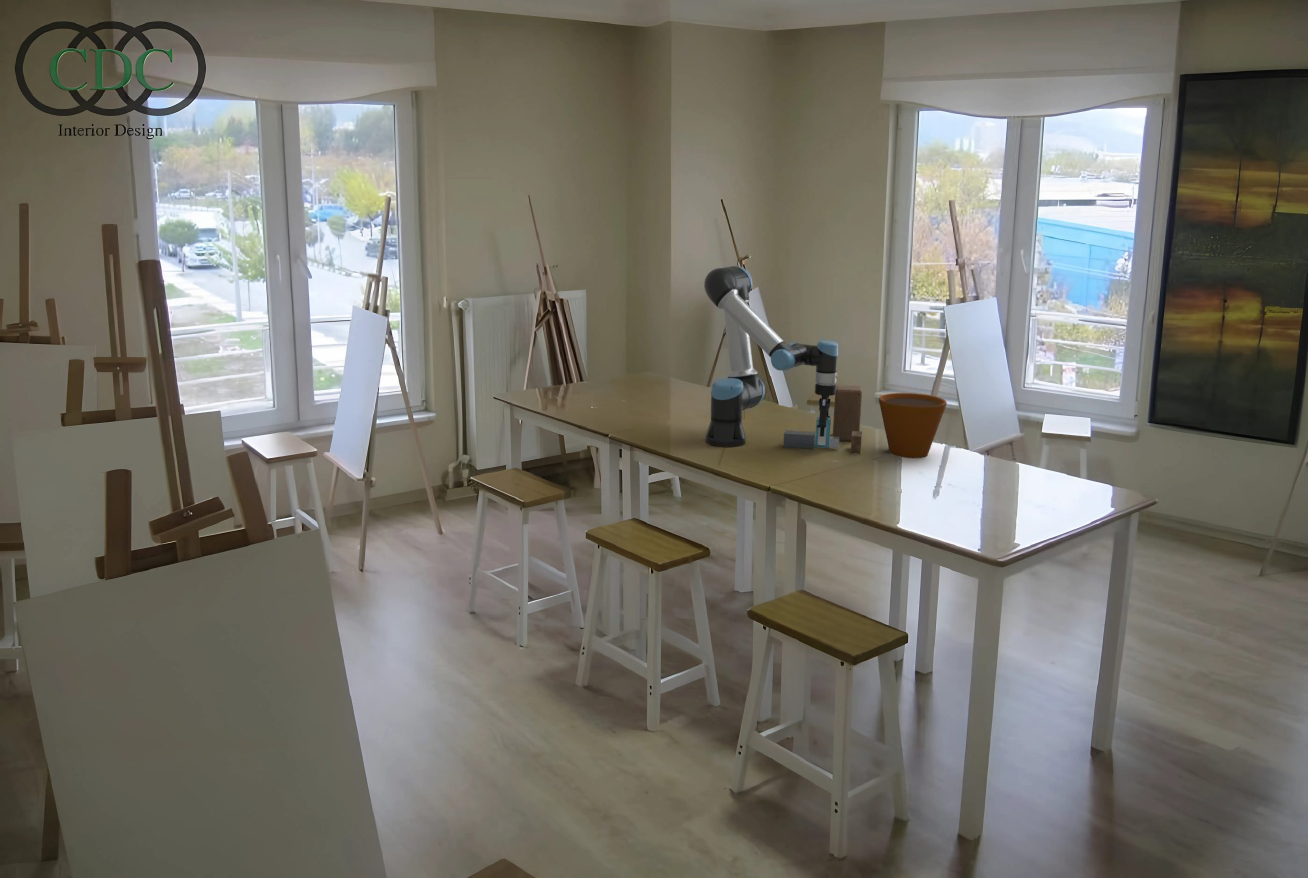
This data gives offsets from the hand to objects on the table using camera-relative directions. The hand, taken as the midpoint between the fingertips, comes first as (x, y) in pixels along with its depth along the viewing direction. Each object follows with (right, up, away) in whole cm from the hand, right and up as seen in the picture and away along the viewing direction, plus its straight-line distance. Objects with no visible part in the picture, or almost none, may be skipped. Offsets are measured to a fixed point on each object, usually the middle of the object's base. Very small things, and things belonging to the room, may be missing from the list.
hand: (822, 440), depth 386 cm
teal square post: (-3, -2, +1) cm, 4 cm away
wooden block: (+12, +1, +17) cm, 21 cm away
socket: (+12, -4, -2) cm, 13 cm away
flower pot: (+31, -5, -3) cm, 31 cm away
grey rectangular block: (-8, -2, +2) cm, 9 cm away
